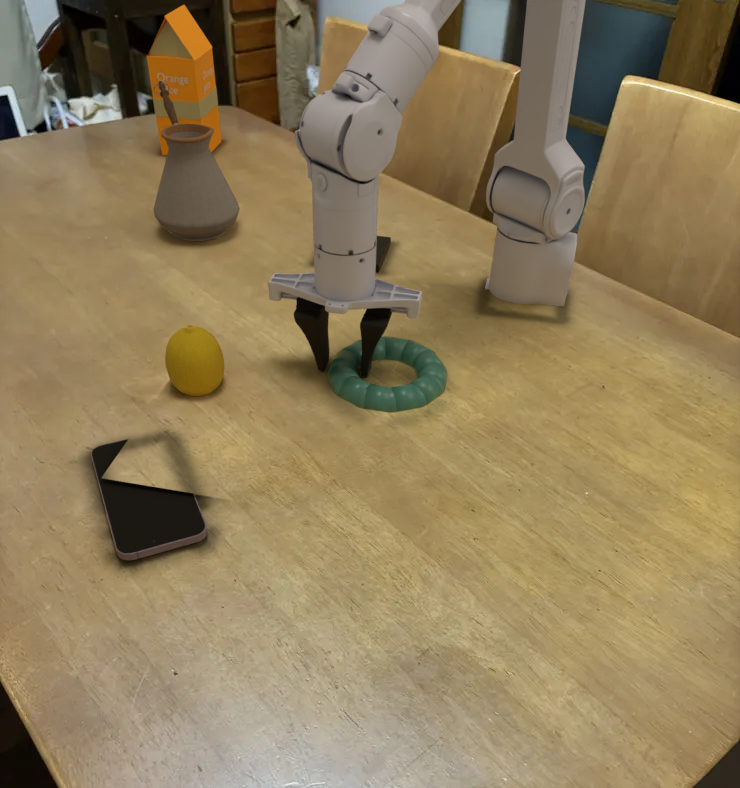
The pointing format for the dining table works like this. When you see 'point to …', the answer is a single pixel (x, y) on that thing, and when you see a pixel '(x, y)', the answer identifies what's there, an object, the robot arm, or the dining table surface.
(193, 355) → the lemon
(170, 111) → the coffee pot
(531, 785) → the dining table surface
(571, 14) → the robot arm
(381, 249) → the peg stand
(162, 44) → the orange juice
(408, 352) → the hoop
